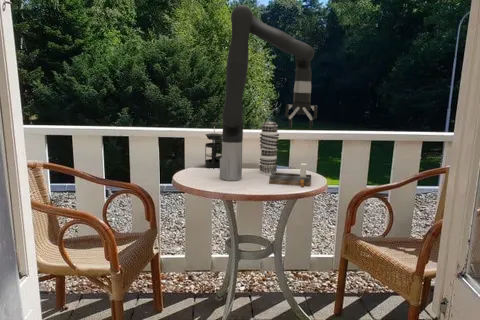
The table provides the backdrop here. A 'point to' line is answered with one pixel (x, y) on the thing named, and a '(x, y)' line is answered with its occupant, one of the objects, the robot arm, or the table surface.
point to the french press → (213, 150)
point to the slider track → (289, 179)
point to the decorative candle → (268, 147)
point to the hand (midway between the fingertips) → (300, 127)
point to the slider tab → (303, 170)
